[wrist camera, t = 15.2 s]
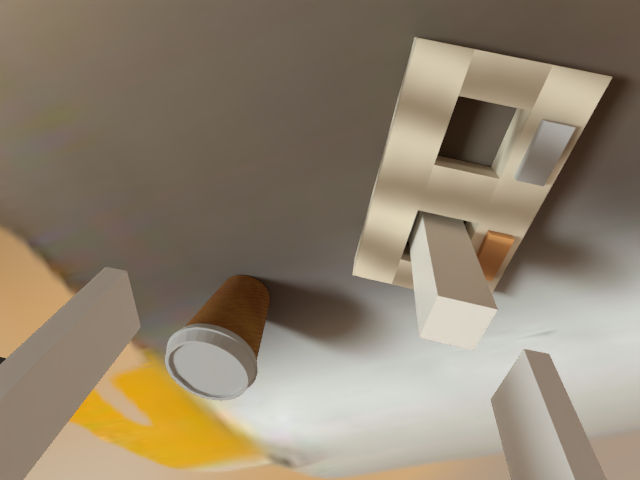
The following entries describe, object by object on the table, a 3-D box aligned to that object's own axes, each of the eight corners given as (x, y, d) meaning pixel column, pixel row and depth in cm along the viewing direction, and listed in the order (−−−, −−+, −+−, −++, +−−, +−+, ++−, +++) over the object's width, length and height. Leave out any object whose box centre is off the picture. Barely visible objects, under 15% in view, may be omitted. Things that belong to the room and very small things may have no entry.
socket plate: (414, 36, 29) (418, 38, 25) (592, 72, 28) (618, 78, 25) (354, 259, 40) (351, 279, 37) (478, 287, 40) (487, 311, 36)
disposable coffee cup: (202, 262, 44) (147, 334, 34) (277, 264, 42) (243, 340, 32) (219, 321, 49) (175, 399, 39) (287, 324, 47) (260, 407, 37)
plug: (420, 205, 36) (438, 295, 24) (460, 214, 36) (497, 309, 24) (408, 239, 38) (419, 337, 26) (446, 247, 38) (473, 350, 26)
